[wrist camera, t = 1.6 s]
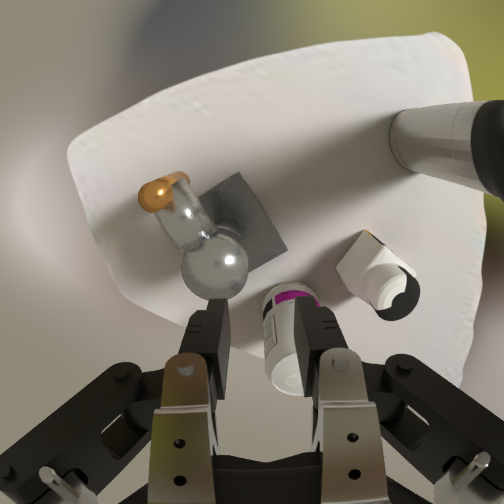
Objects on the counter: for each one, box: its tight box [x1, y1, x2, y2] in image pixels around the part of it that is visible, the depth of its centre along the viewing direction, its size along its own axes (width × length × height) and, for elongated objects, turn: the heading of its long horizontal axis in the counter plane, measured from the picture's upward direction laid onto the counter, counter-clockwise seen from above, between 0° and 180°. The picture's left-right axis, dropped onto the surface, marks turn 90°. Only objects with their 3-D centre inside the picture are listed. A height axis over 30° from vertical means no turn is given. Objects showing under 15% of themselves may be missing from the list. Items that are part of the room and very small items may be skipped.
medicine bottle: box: [336, 230, 420, 321], centre depth 35 cm, size 7×7×12 cm
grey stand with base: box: [184, 172, 288, 273], centre depth 36 cm, size 12×12×8 cm
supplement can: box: [262, 282, 320, 396], centre depth 36 cm, size 8×8×15 cm
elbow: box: [138, 171, 248, 300], centre depth 29 cm, size 14×6×9 cm, turn 32°
